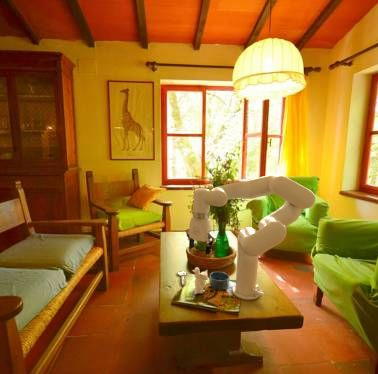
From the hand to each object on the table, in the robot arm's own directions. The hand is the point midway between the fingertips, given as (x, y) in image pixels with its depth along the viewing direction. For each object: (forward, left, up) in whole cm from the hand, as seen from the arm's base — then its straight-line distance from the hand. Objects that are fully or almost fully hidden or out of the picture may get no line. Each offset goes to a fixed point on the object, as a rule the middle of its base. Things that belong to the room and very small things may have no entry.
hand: (199, 250), depth 119 cm
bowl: (-5, -11, -20) cm, 23 cm away
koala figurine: (-1, 0, -20) cm, 20 cm away
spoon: (+13, -4, -20) cm, 24 cm away
